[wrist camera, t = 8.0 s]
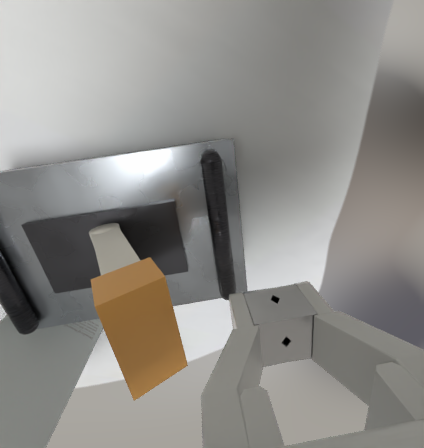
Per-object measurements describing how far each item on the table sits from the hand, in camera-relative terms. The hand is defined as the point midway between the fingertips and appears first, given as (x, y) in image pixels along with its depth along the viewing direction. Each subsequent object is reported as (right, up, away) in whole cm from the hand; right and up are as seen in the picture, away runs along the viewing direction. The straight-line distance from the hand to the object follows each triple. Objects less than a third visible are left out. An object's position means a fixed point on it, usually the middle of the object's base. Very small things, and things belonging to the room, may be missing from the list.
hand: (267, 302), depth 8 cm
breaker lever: (-9, +1, +6) cm, 10 cm away
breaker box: (-9, +4, +12) cm, 15 cm away
